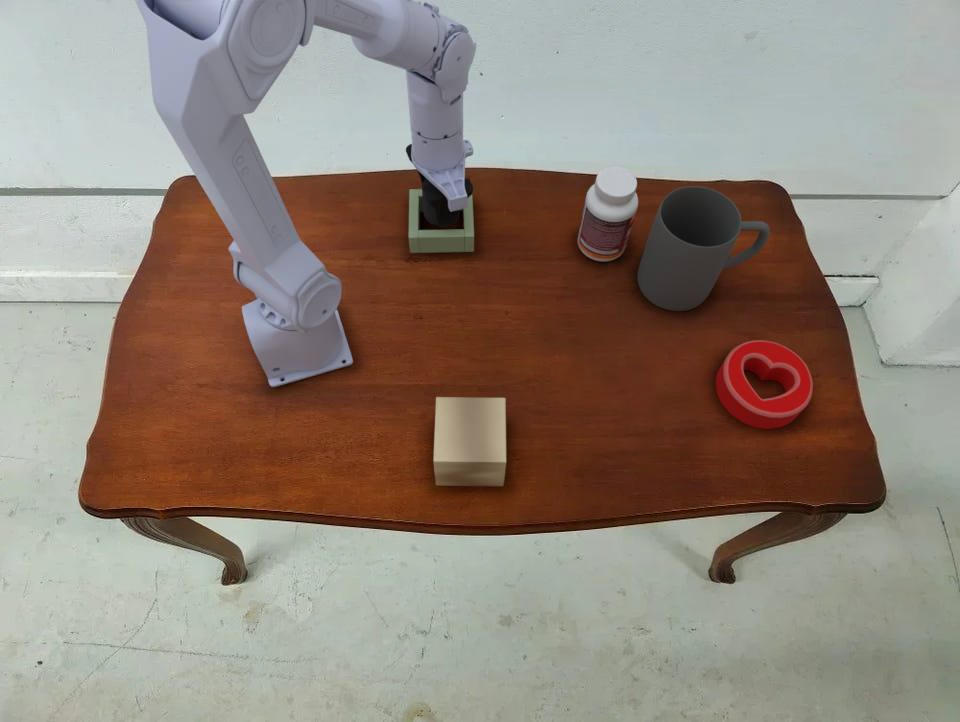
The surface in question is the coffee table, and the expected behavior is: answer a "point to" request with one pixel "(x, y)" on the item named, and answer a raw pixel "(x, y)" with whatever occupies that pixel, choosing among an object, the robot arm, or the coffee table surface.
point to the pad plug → (429, 207)
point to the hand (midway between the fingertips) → (440, 209)
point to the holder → (439, 238)
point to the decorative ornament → (767, 365)
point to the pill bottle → (608, 214)
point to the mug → (692, 247)
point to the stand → (470, 441)
